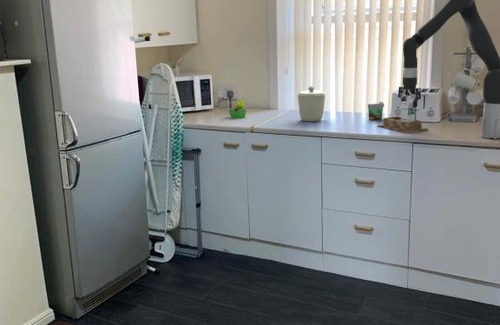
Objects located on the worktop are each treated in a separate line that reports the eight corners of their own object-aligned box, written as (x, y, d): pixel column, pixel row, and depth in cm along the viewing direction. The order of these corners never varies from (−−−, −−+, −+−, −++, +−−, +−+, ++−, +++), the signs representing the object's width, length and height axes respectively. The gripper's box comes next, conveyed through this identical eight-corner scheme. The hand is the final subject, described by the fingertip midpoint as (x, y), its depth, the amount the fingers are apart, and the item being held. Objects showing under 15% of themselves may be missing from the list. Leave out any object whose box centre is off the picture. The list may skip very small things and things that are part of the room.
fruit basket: (228, 117, 338) (227, 100, 335) (238, 115, 343) (238, 99, 340) (237, 119, 329) (237, 102, 326) (248, 117, 334) (248, 100, 331)
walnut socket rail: (427, 130, 274) (428, 121, 273) (408, 133, 268) (408, 124, 266) (396, 123, 295) (396, 115, 293) (377, 126, 288) (377, 117, 287)
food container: (375, 121, 304) (376, 105, 301) (367, 120, 308) (367, 104, 306) (388, 118, 311) (388, 102, 309) (379, 117, 316) (380, 101, 313)
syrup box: (406, 129, 274) (407, 102, 270) (400, 127, 279) (401, 101, 275) (415, 128, 275) (416, 101, 272) (409, 126, 281) (410, 100, 277)
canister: (305, 124, 304) (305, 88, 298) (291, 119, 320) (291, 86, 315) (331, 121, 310) (331, 86, 305) (317, 117, 326) (316, 84, 321)
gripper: (425, 76, 265) (424, 107, 269) (405, 75, 278) (404, 104, 282) (414, 77, 262) (413, 108, 266) (395, 76, 274) (394, 106, 278)
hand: (408, 106), depth 274 cm, fingers open, 8 cm apart
